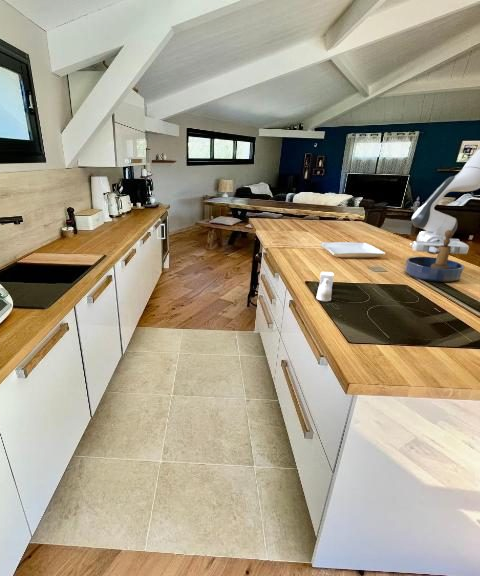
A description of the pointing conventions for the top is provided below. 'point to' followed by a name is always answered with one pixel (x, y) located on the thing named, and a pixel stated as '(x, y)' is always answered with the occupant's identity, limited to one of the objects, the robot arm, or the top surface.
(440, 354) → the top surface
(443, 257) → the mortar and pestle
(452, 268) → the bowl
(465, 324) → the top surface
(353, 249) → the square plate
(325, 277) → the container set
